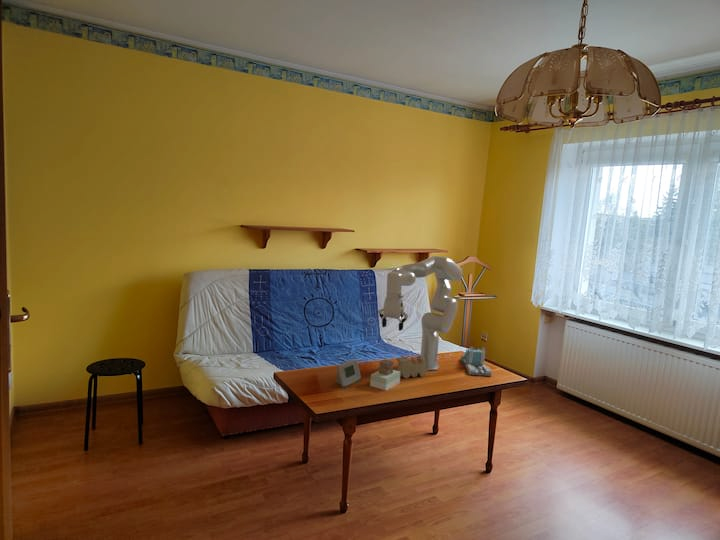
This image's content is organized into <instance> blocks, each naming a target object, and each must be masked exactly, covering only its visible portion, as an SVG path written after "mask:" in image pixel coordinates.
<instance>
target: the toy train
mask: <svg viewBox="0 0 720 540" xmlns="http://www.w3.org/2000/svg"><path fill="white" fill-rule="evenodd" d="M396 361H397V371H400V372H401V373H400V377H402V378H403V379H408V378H410V377H412V378H416V377H418V376H419V377H421V378H423V377H424V376H425V375H426V373H429V370H428V369H427V368H426V364H427V363H425V358H423V357H421V355H418V356H416V359H415V358H411V359H410V358H408V357H407V356H404V357H403V356H401V357H396Z"/></svg>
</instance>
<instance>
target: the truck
mask: <svg viewBox="0 0 720 540" xmlns="http://www.w3.org/2000/svg"><path fill="white" fill-rule="evenodd" d="M486 350H487V349H486V346H485V347H483V346H482V347H481V349H479V348H477V349H474V346H470V347H469V348H468V349H465V352H464V354H462V355H461V357H460V361H461V363H462V364H463V365H464V367H465V368H466V371H467V373H468V375H471V376H484V377H485V376H486V377H492V375H493V373H492V369H491V368H490V366H486V365H485V359H486Z"/></svg>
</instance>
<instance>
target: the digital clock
mask: <svg viewBox="0 0 720 540" xmlns="http://www.w3.org/2000/svg"><path fill="white" fill-rule="evenodd" d="M336 371H337V375H336V376H337V377H336V383H337V384H340V385H341V387H342V388H346V387H348V386H350V385H352V384H354V383H356V382H357V381H359V380H361V379H362V375H361V372H360V368H359V363H358V360H357V359H356V358H352V359H349V360H346V361H344V362H342V363H340V364H338V365H337V366H336Z"/></svg>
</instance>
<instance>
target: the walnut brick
mask: <svg viewBox="0 0 720 540" xmlns="http://www.w3.org/2000/svg"><path fill="white" fill-rule="evenodd" d="M393 370H394V361H393V360H390V359H387V358H385V359H383V360H380V361H379V369H378V371H379V373H381V374H385V375H389V374H392V373H393Z"/></svg>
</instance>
